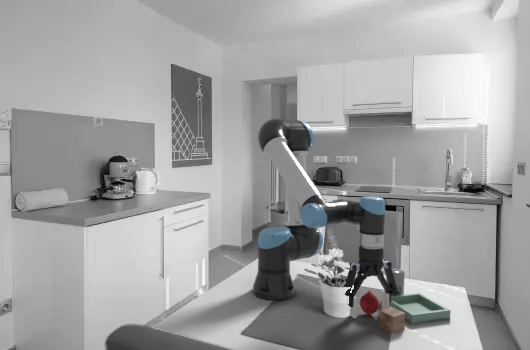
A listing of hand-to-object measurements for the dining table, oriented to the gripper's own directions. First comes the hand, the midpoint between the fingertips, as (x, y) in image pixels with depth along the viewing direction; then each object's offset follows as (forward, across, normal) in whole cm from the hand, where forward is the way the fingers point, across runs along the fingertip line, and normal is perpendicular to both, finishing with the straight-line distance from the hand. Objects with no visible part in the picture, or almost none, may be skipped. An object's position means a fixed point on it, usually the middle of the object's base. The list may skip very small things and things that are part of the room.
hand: (369, 314), depth 112 cm
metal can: (0, +16, +9) cm, 18 cm away
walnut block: (0, +2, -9) cm, 9 cm away
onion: (0, 0, 0) cm, 0 cm away
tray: (0, +16, -2) cm, 16 cm away
